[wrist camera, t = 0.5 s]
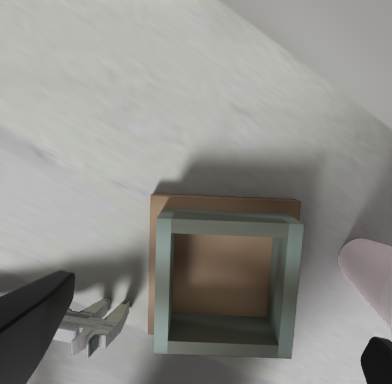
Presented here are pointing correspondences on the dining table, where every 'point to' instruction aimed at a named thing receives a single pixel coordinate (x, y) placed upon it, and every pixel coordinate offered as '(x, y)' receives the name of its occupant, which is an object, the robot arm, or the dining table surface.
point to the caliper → (92, 326)
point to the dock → (224, 275)
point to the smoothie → (370, 273)
